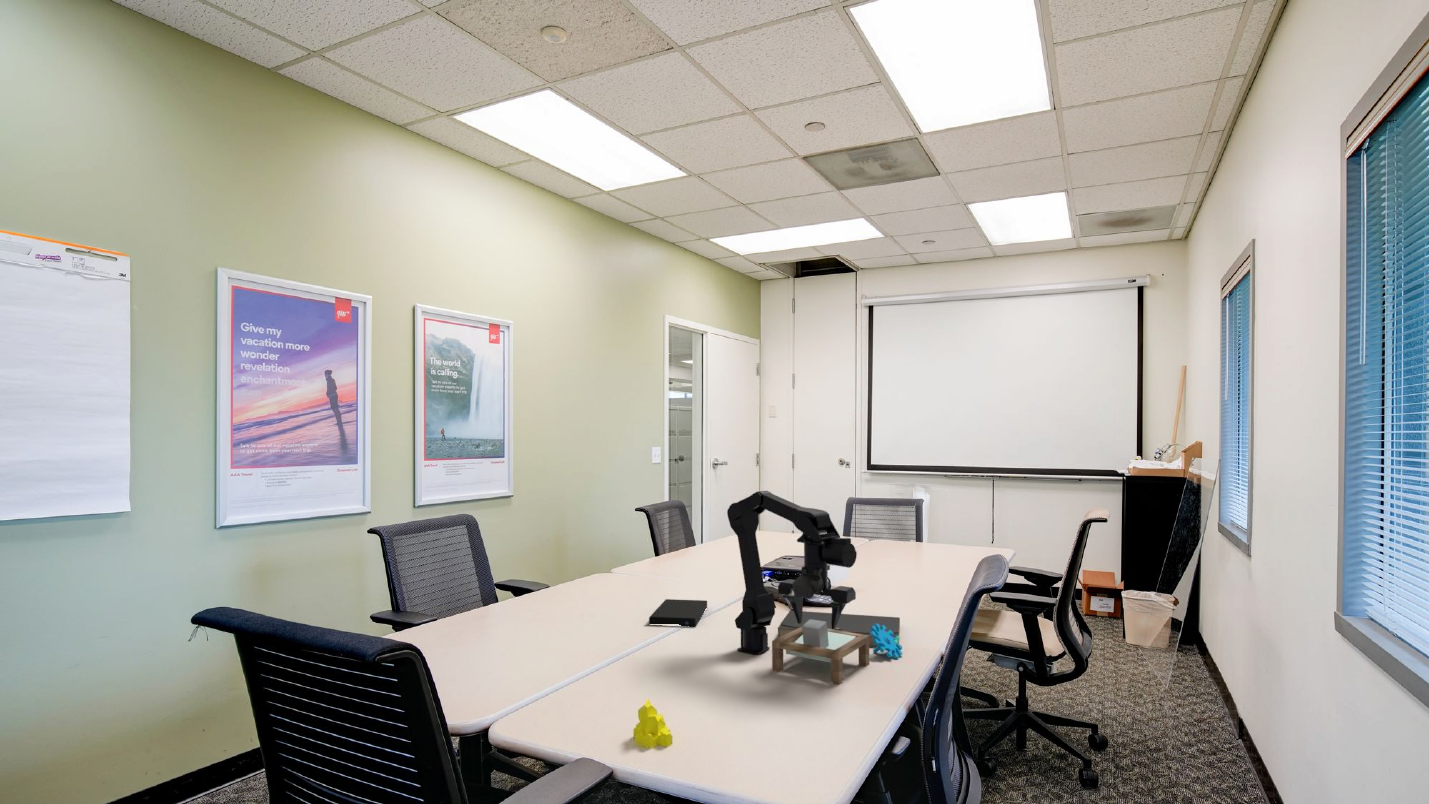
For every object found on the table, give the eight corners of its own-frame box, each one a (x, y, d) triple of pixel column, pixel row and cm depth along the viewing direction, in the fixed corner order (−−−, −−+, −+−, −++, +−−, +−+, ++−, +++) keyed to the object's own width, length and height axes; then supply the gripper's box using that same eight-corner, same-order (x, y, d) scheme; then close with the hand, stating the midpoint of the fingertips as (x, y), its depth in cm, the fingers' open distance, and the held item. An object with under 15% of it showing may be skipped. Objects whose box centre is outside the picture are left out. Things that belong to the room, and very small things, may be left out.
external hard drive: (707, 609, 233) (707, 600, 233) (695, 628, 210) (695, 618, 210) (665, 608, 235) (665, 599, 235) (649, 626, 212) (649, 616, 212)
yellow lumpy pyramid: (660, 752, 127) (660, 708, 128) (626, 742, 132) (626, 699, 132) (679, 740, 132) (679, 698, 133) (645, 730, 137) (645, 690, 137)
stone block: (804, 649, 172) (801, 626, 171) (812, 642, 175) (810, 619, 175) (820, 653, 169) (818, 629, 168) (828, 645, 173) (826, 621, 172)
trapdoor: (809, 632, 183) (809, 628, 183) (856, 640, 176) (856, 636, 176) (786, 653, 173) (785, 650, 173) (834, 663, 165) (834, 659, 165)
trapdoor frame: (772, 669, 172) (772, 640, 172) (806, 651, 186) (805, 624, 187) (839, 684, 162) (838, 653, 162) (869, 663, 176) (869, 635, 176)
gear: (887, 657, 176) (866, 622, 183) (872, 670, 179) (852, 635, 185) (913, 654, 183) (892, 621, 190) (898, 667, 186) (878, 634, 192)
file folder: (777, 627, 197) (791, 608, 220) (777, 641, 197) (791, 621, 220) (898, 635, 188) (899, 614, 212) (898, 651, 188) (899, 628, 211)
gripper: (766, 563, 172) (766, 627, 171) (836, 571, 161) (837, 640, 160) (788, 556, 181) (789, 618, 180) (856, 564, 170) (857, 629, 170)
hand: (816, 626), depth 172 cm, fingers open, 9 cm apart
